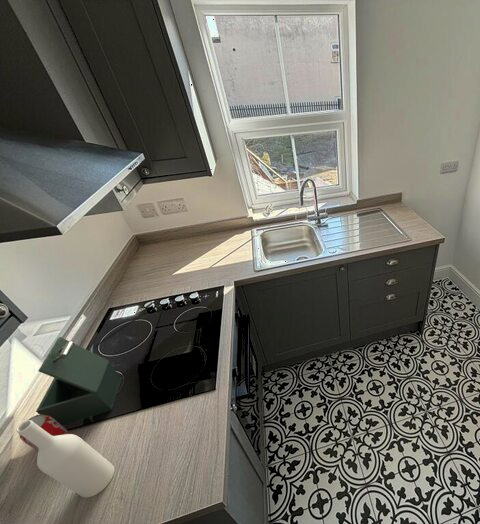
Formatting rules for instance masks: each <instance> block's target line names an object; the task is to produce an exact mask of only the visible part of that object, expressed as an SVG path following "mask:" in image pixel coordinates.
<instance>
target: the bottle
mask: <svg viewBox="0 0 480 524" xmlns="http://www.w3.org/2000/svg"><path fill="white" fill-rule="evenodd" d="M27 420H28V419H27ZM27 420H25V421H23V422H21V423H20V424H19V425H18V426H17V427H16V433H17V434H18V435H19V434H20V435H22V436H23V437H25V438H26V439H27V440H29V441H30V442H32V443H33V444H34V445H36V446H37V447H38V448H39V451H37V457H36V465H37V468H38V469H39V470H40V471H41V472H43V473H44V474H45V475H47V476H48V477H51V478H52V479H53V480H55V481H56V482H58V483H59V484H61V485H63V486H64V487H66V488H67V489H69V490H70V491H72V492H74V493H75V494H77V495H79V496H80V497H81V498H91V497H94V496H96V495H99V493H101V492H102V491H104V490H105V488H106V487H108V485H109V484H110V482H111V481H112V479H113V477H114V475H115V467H114V465H113V464H112V463H111V462H110V461H109V460H107V459H106V457H104V456H103V455H101V454H100V453H99V452H98V451H97V450H95V448H93V447H92V446H91V445H89V443H87V442H86V440H85V441H84V439H82V438H81V437H79V436H78V435H76V434H74V433H70V434H65V435H58V436H52V435H50V434H49V433H47V432H46V431H45V430H43V429H42V428H41V427H39V426H38V425H37V424H36V423H34V422H33V421H31V420H28V421H27ZM20 435H19V436H20Z"/></svg>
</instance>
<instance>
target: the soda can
mask: <svg viewBox="0 0 480 524" xmlns="http://www.w3.org/2000/svg"><path fill="white" fill-rule="evenodd" d="M28 420H31V421H33V422H34V423H36V424H37V425H38V426H39V427H41V428H42V429H43V430H45V431H46V432H47V433H49V434H50V435H52V436H58V435H65V434H71V432H70V431H69V430H68V429H67V428H66V427H65V426H64V425H63V426H62V425H61V424H60V423H58V422H57V421H56V420H55V419H53V418H52V417H50V416H45V415H40V414H36V415H34V416H31V417H29V418H28V419H27V420H26V421H28ZM18 435H19V439H20V440H21V441H22V442H23V443H25V444H26V445H28V446H29V447H30V448H32V449H33V450H35V451H36V452H38V451H39V448H38V447H37V446H36V445H34V444H33V443H32V442H30V441H29V440H27V439H26V438H25V437H23V436H22V435H20V434H19V433H18Z"/></svg>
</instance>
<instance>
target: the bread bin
mask: <svg viewBox="0 0 480 524" xmlns="http://www.w3.org/2000/svg"><path fill="white" fill-rule="evenodd" d="M122 380H123V377H121V375H120V374H119V373H118V372H117V370H115V368H114V366H112V364H111V363H110V362H109V361H108V364H107V367H106V369H105V372H104V374H103V377H102V379H101V382H100V384H99V387H98V390H97V392H96V393H95V394H94V393H91V392H89V391H86V390H84V389H81V388H79V387H76V386H74V385H71V384H69V383H66V382H64V381H61V380H59V379H56V378H54V377H53V378H52V380H51V383H50V385H48V388H47V390H46V391H45V393H44V396H43V397H42V400H41V401H40V403H39V405H38V407H37V408H36V411H35V412H36V413H37V415H45V416H50V417H52V418H53V419H55V420H56V421H57V422H58V423H60V424H61V425H62V426H63V427H64V426H66V425H69V424H72V423H76V422H78V421H83V420H85V419H89V418H91V417H95V416H98V415H102V414H105V413H108V412H112V411H113V408H114V405H115V402H116V399H117V396H118V393H119V390H120V387H121V384H122Z"/></svg>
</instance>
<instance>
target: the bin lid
mask: <svg viewBox="0 0 480 524" xmlns="http://www.w3.org/2000/svg"><path fill="white" fill-rule="evenodd" d="M109 361H110V360H109V359H106V358H105V357H102V356H100V355H98V354H96V353H94V352H92V351H90V350H88V349H86V348H84V347H82V346H81V345H78V344H76V343H74V342H73V341H70V340H68V339H66V338H64V337H62V336H59V337H58V338H57V339H56V340H55V342H54V344H53V345H52V347H51V349H50V351H49V352H48V354H47V355H46V356H45V358H44V360H43V362H42V363H41V365H40V367H39V368H38V370H37V372H39V373H42V374H44V375H47V376H48V377H51V378H53V379H54V378H56V379H59V380H61V381H64V382H66V383H69V384H71V385H74V386H76V387H79V388H81V389H84V390H86V391H89V392H91V393H94V394H95V393H96V392H97V390H98V387H99V384H100V382H101V379H102V377H103V374H104V372H105V369H106V367H107V364H108V362H109Z"/></svg>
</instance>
